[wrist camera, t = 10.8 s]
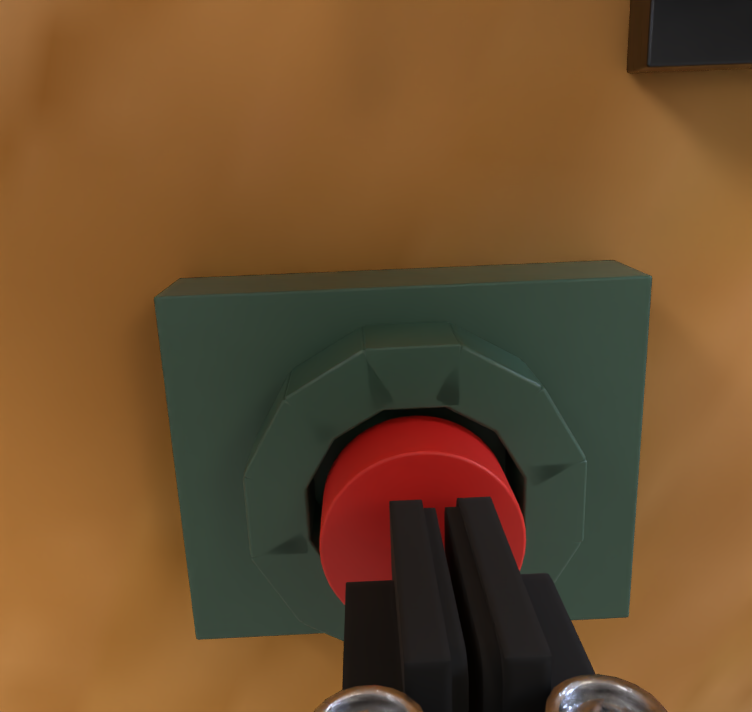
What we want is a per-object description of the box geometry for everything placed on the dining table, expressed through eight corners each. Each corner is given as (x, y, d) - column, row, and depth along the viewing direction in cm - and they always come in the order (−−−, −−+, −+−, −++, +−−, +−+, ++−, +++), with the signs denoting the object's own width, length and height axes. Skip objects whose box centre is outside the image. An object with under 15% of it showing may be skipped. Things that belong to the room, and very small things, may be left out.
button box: (213, 585, 19) (177, 698, 15) (178, 277, 16) (124, 317, 13) (598, 565, 19) (661, 672, 15) (615, 259, 17) (694, 293, 13)
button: (328, 584, 15) (325, 641, 13) (317, 418, 14) (312, 456, 12) (505, 576, 15) (524, 631, 13) (507, 409, 14) (529, 446, 12)
